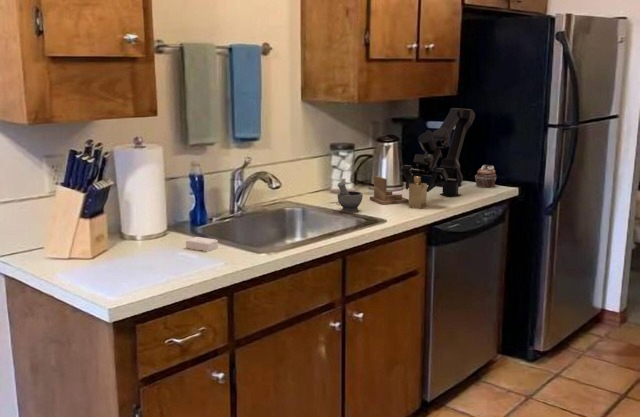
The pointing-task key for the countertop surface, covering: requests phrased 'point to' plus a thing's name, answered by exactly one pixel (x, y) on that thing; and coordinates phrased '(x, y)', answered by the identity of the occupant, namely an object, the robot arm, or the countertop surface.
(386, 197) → the bronze stepped stand
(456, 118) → the robot arm
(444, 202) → the countertop surface
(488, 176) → the cupcake
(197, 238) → the soap
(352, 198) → the mortar and pestle
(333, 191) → the pipe connector
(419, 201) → the bronze perfume bottle
